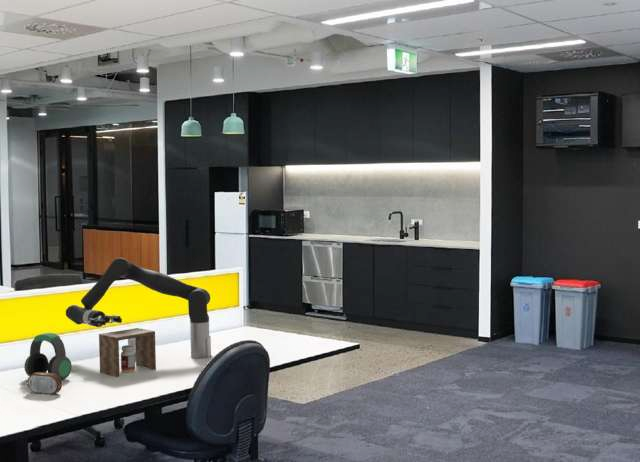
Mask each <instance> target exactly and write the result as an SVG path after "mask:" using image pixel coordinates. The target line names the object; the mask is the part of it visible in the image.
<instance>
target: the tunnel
mask: <svg viewBox="0 0 640 462" xmlns="http://www.w3.org/2000/svg"><path fill="white" fill-rule="evenodd" d="M131 338H135V339H136V357H135V367H136V366H138V367H142V368H146V369H150V370H157V365H156V364H157V360H156V359H157V356H156V331H155V330H151V329H146V328H145V329H144V328H140V327H139V328H138V327H136V328H135V327H134V328H130V329H123V330H116V331H111V332H104V333H99V334H98V340H99V341H98V345H99V346H98V347H99V349H98V352H99V373H100V374H103V375H107V376H112V377H115V378H119V377H120V375H121V374H120V371H121V370H120V343H119V342H120V341H124V340H128V339H131Z"/></svg>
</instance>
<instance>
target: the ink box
mask: <svg viewBox="0 0 640 462" xmlns="http://www.w3.org/2000/svg"><path fill="white" fill-rule="evenodd" d="M127 345H132V346H133V347H134V350H132V351H134V353H135V358H136V339H135V338H131V339H127Z"/></svg>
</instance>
